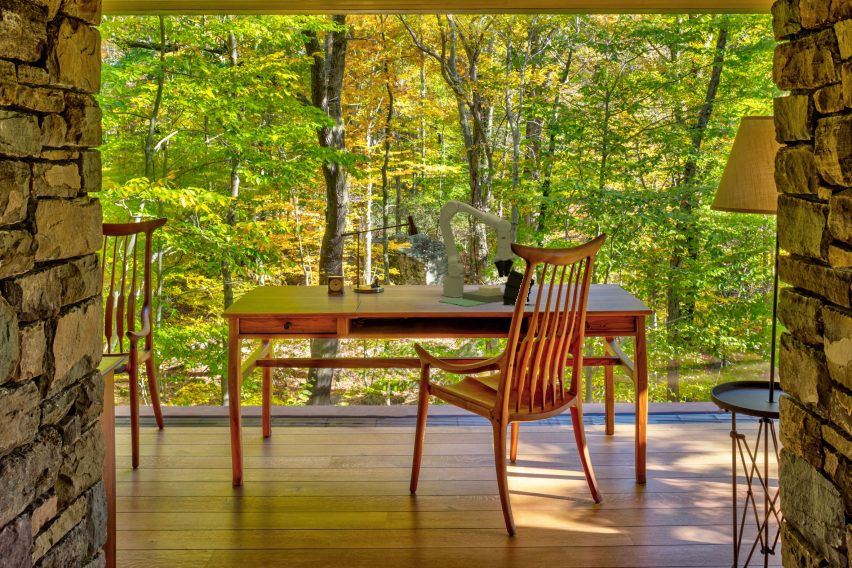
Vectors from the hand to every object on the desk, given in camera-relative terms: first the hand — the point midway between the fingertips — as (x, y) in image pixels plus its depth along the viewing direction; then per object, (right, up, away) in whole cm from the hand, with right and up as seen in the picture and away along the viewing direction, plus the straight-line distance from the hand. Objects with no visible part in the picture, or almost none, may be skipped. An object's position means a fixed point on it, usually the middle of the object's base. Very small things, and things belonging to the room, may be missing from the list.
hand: (503, 276), depth 358 cm
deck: (-8, -10, -6) cm, 14 cm away
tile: (-7, -6, -5) cm, 10 cm away
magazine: (+4, -12, -20) cm, 24 cm away
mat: (-19, -11, -15) cm, 27 cm away
